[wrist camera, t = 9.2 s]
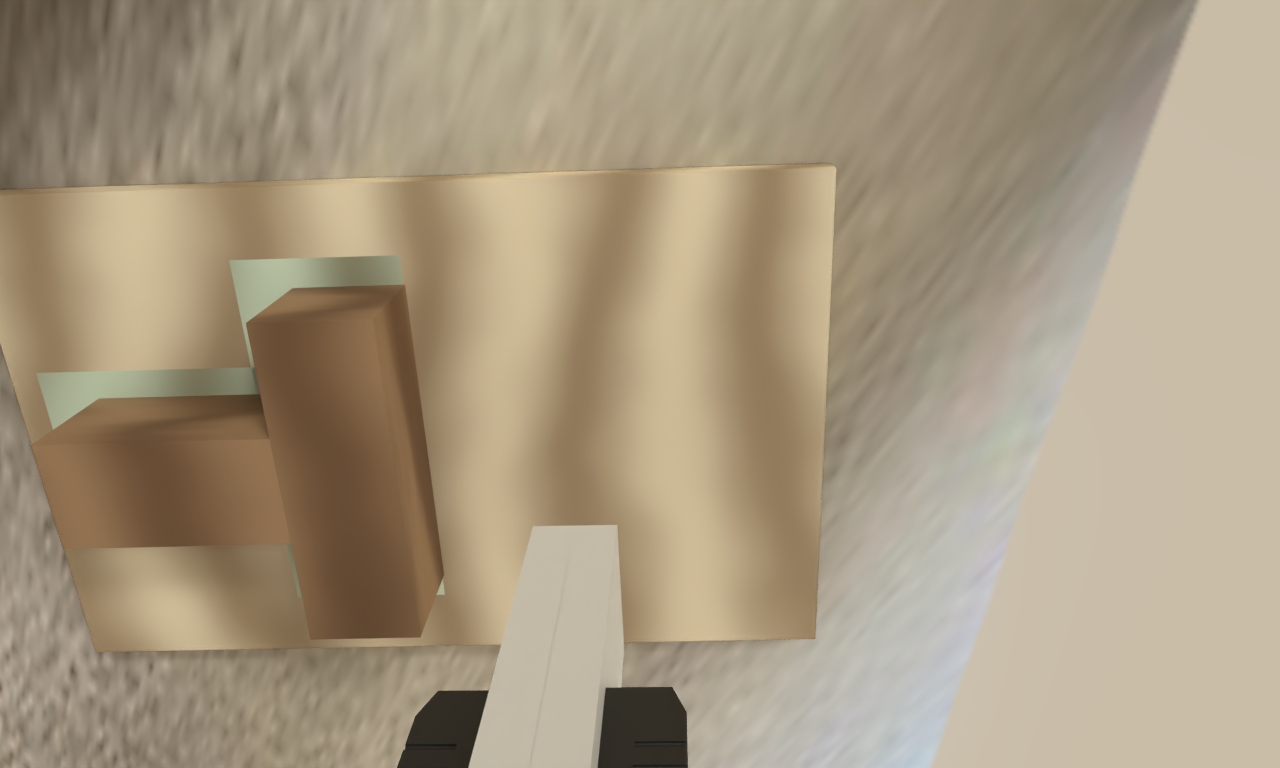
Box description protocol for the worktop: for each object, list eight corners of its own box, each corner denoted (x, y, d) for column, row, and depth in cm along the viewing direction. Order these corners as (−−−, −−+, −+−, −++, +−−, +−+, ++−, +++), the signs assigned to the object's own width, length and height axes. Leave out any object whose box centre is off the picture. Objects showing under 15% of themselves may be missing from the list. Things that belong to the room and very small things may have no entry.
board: (830, 162, 32) (836, 168, 31) (810, 621, 39) (815, 638, 38) (-21, 190, 32) (-46, 196, 31) (111, 633, 40) (95, 651, 38)
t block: (404, 284, 32) (372, 319, 29) (444, 574, 37) (420, 637, 33) (70, 294, 33) (-6, 330, 29) (149, 581, 37) (92, 643, 33)
